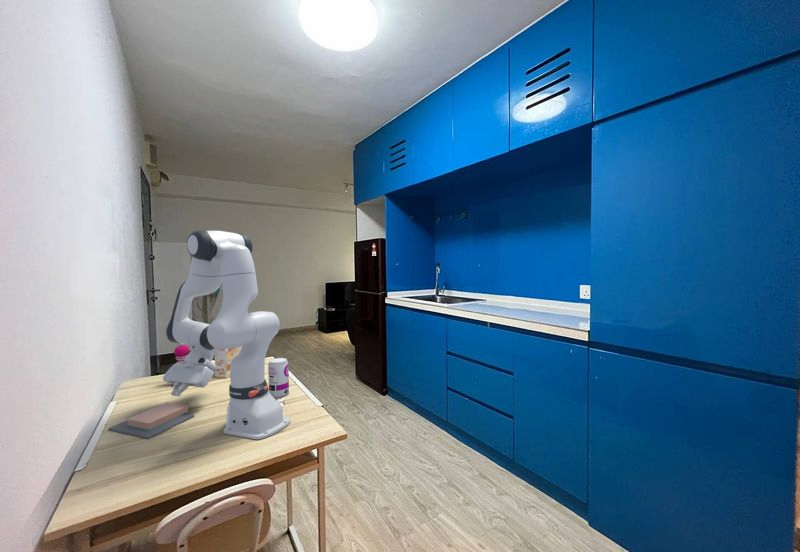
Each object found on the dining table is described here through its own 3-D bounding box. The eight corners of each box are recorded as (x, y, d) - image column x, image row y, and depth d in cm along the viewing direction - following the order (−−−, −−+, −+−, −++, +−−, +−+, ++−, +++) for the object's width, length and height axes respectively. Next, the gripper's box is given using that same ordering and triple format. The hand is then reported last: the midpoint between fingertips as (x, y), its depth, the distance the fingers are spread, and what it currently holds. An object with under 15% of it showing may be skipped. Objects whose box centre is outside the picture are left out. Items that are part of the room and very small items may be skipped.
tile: (167, 402, 125) (127, 418, 112) (187, 405, 122) (149, 423, 109) (167, 408, 125) (127, 425, 112) (188, 412, 122) (149, 430, 109)
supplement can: (291, 390, 144) (290, 357, 143) (285, 397, 135) (284, 362, 135) (273, 390, 143) (272, 357, 143) (266, 398, 135) (265, 363, 135)
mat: (156, 409, 126) (156, 408, 126) (194, 416, 120) (194, 415, 120) (108, 430, 111) (108, 428, 111) (149, 439, 104) (149, 437, 104)
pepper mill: (195, 381, 157) (194, 340, 156) (184, 386, 150) (182, 344, 149) (182, 380, 158) (180, 340, 157) (170, 386, 150) (168, 344, 150)
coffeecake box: (227, 378, 160) (225, 339, 159) (214, 377, 161) (213, 339, 161) (247, 368, 175) (245, 333, 174) (235, 368, 176) (234, 332, 175)
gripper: (172, 356, 132) (148, 388, 124) (210, 360, 126) (188, 394, 117) (183, 364, 137) (161, 395, 128) (220, 368, 131) (200, 401, 122)
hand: (174, 395), depth 123 cm, fingers closed
